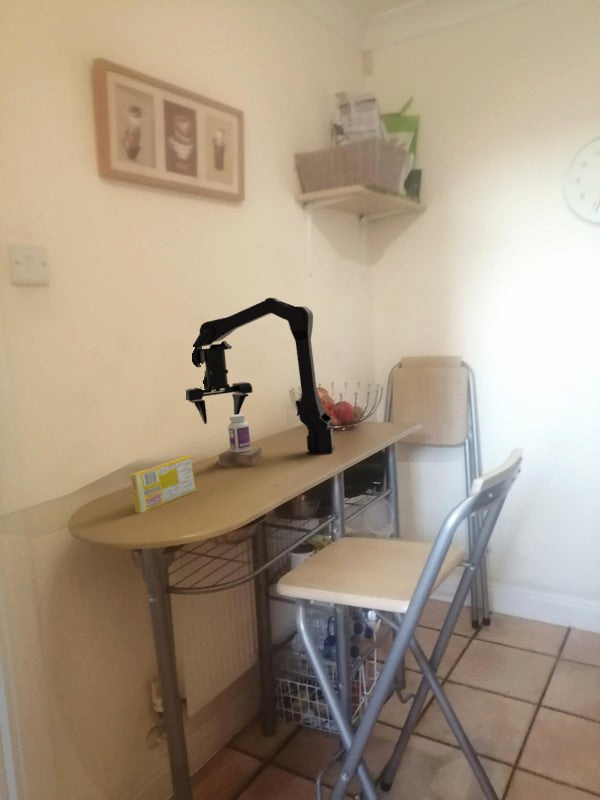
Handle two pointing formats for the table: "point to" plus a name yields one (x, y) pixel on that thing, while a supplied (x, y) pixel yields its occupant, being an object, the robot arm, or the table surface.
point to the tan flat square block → (240, 457)
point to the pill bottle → (239, 434)
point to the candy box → (162, 483)
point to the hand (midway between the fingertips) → (221, 421)
